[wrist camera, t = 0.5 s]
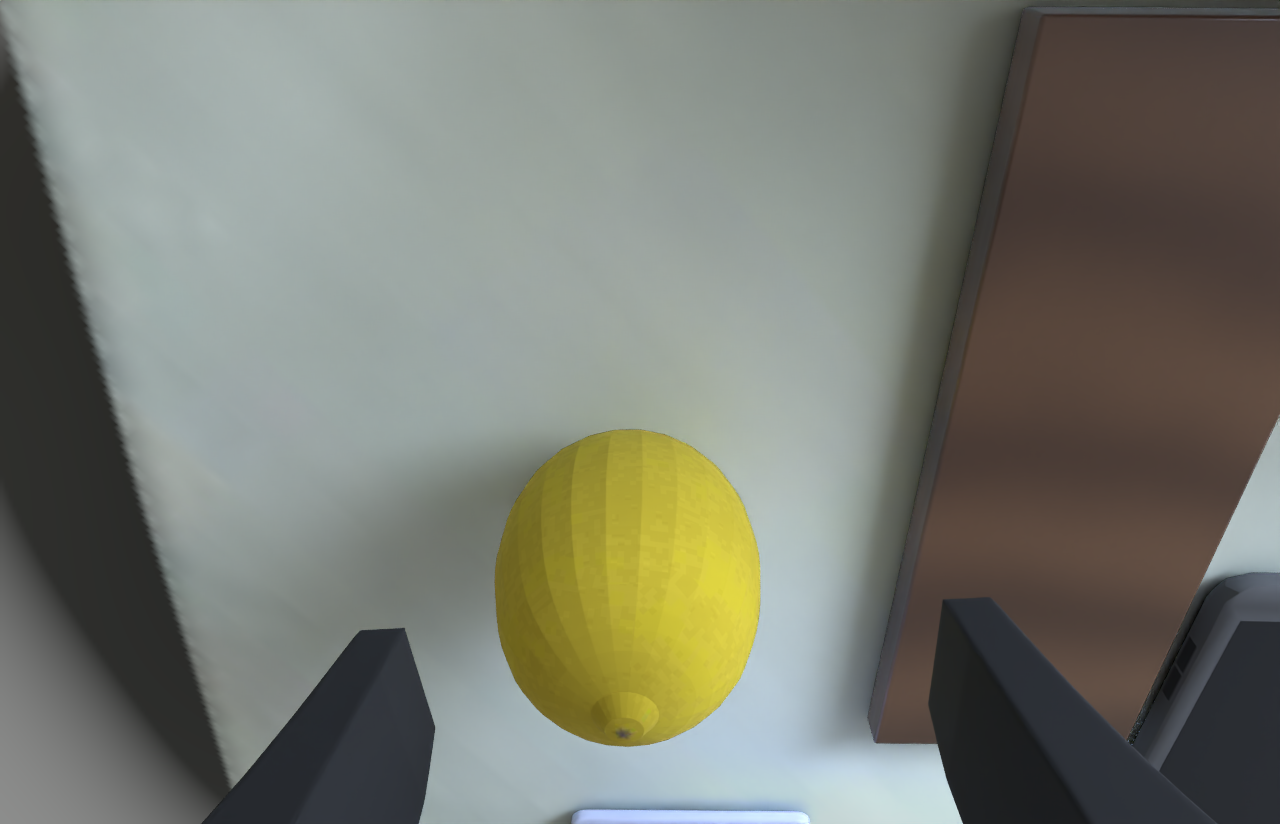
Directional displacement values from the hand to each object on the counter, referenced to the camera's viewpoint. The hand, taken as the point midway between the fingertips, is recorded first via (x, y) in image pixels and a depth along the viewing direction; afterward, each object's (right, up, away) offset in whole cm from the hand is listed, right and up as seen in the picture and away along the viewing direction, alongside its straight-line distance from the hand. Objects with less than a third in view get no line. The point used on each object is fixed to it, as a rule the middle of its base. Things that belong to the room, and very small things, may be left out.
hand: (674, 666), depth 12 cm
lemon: (-1, +2, +10) cm, 10 cm away
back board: (+10, +2, +10) cm, 14 cm away
